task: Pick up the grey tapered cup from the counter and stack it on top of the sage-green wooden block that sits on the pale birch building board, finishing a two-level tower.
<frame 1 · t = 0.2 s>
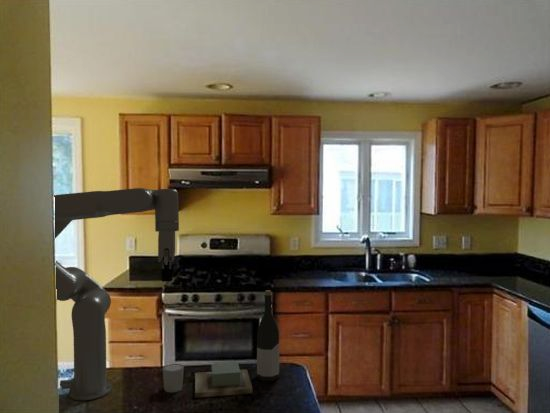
hand: (168, 278, 143), 36 cm above the countertop, tool pointing down, fingers open, 9 cm apart
wine bottle: (268, 377, 152), on the countertop
grey tapered cup: (173, 389, 142), on the countertop
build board: (222, 384, 145), on the countertop
sage block: (225, 379, 145), point 2 cm above the countertop, touching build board
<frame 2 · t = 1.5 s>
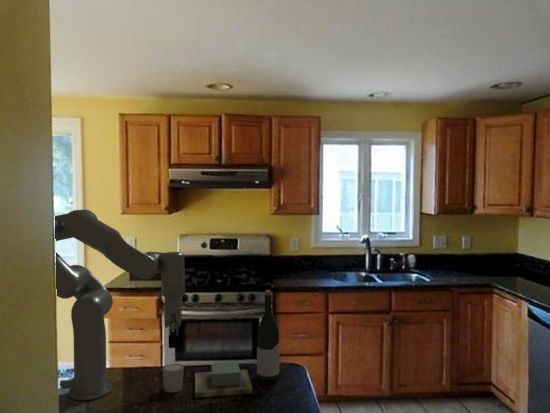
hand: (174, 342, 142), 15 cm above the countertop, tool pointing down, fingers open, 9 cm apart
nothing on the countertop moved.
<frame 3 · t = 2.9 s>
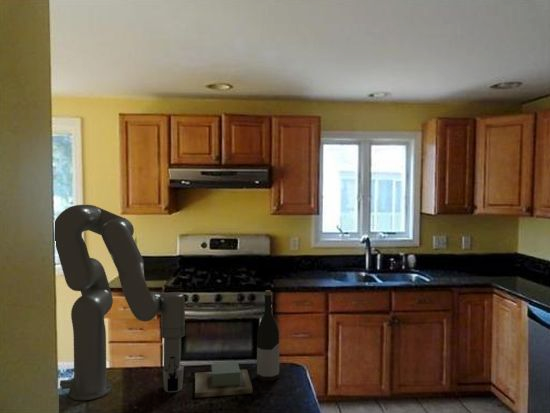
hand: (173, 385, 142), 1 cm above the countertop, tool pointing down, fingers closed on grey tapered cup, 6 cm apart
grey tapered cup: (173, 389, 142), on the countertop, touching gripper
everything else where it was.
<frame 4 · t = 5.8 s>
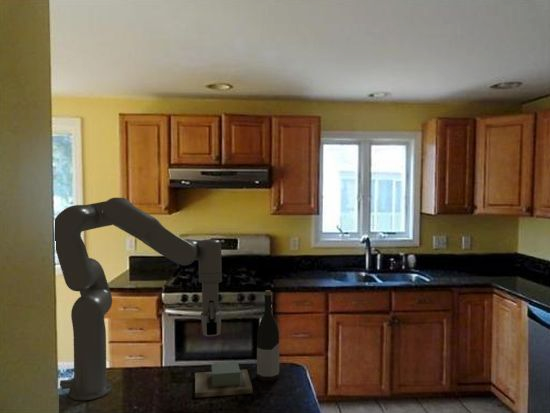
hand: (211, 331, 144), 18 cm above the countertop, tool pointing down, fingers closed on grey tapered cup, 5 cm apart
grey tapered cup: (211, 334, 144), point 17 cm above the countertop, touching gripper
everything else where it was.
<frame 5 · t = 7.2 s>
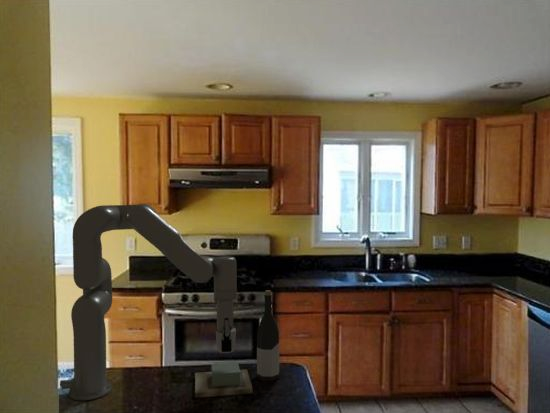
hand: (225, 347, 145), 12 cm above the countertop, tool pointing down, fingers closed on grey tapered cup, 5 cm apart
grey tapered cup: (226, 351, 145), point 11 cm above the countertop, touching gripper
everything else where it was.
when the fingers open (8 cm above the countertop, at t = 8.5 s): grey tapered cup drops 1 cm, resting on sage block.
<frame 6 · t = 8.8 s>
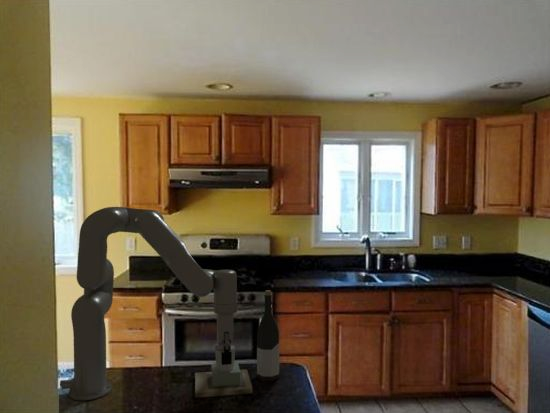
hand: (225, 358, 145), 9 cm above the countertop, tool pointing down, fingers open, 9 cm apart
grey tapered cup: (225, 368, 145), point 5 cm above the countertop, touching sage block
sage block: (225, 379, 145), point 2 cm above the countertop, touching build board, grey tapered cup
everything else where it was.
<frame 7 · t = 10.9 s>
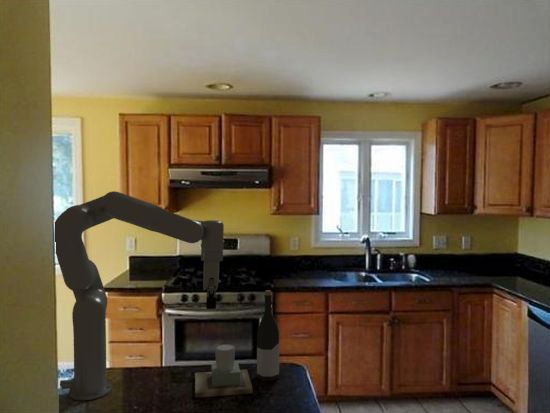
hand: (211, 305, 151), 25 cm above the countertop, tool pointing down, fingers open, 9 cm apart
nothing on the countertop moved.
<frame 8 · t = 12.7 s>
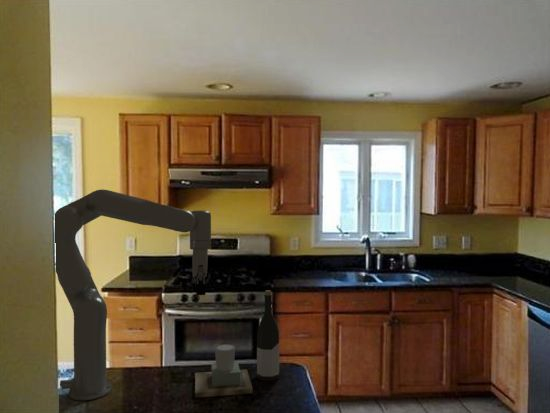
hand: (200, 292, 157), 28 cm above the countertop, tool pointing down, fingers open, 9 cm apart
nothing on the countertop moved.
at the end: grey tapered cup 0.2 cm off-centre on the sage block, point 3.8 cm above the sage block's base; grey tapered cup tilted 0°; sage block moved 0.0 cm from its start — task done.
